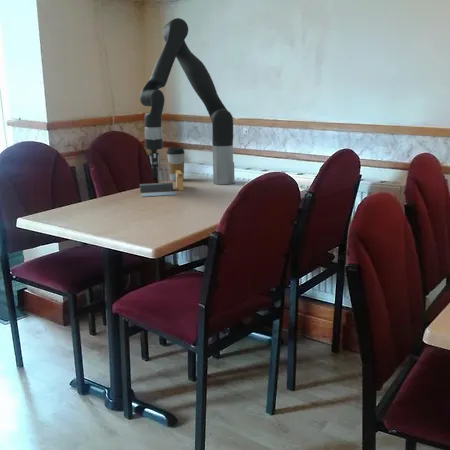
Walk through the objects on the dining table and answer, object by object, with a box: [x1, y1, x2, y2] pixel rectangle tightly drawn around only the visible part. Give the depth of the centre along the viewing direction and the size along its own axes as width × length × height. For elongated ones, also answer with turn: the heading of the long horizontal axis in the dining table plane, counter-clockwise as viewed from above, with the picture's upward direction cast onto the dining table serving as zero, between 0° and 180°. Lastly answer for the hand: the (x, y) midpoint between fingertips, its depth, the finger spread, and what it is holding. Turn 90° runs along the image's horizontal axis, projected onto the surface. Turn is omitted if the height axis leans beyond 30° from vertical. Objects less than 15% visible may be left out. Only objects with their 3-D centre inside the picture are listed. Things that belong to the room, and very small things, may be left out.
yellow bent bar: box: [175, 170, 184, 191], centre depth 250 cm, size 2×10×7 cm, turn 10°
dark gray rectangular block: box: [139, 181, 174, 193], centre depth 248 cm, size 14×4×3 cm, turn 100°
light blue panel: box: [140, 191, 177, 198], centre depth 239 cm, size 14×6×1 cm, turn 100°
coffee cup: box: [166, 147, 185, 182], centre depth 270 cm, size 8×8×15 cm
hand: (154, 175), depth 247 cm, fingers open, 8 cm apart
